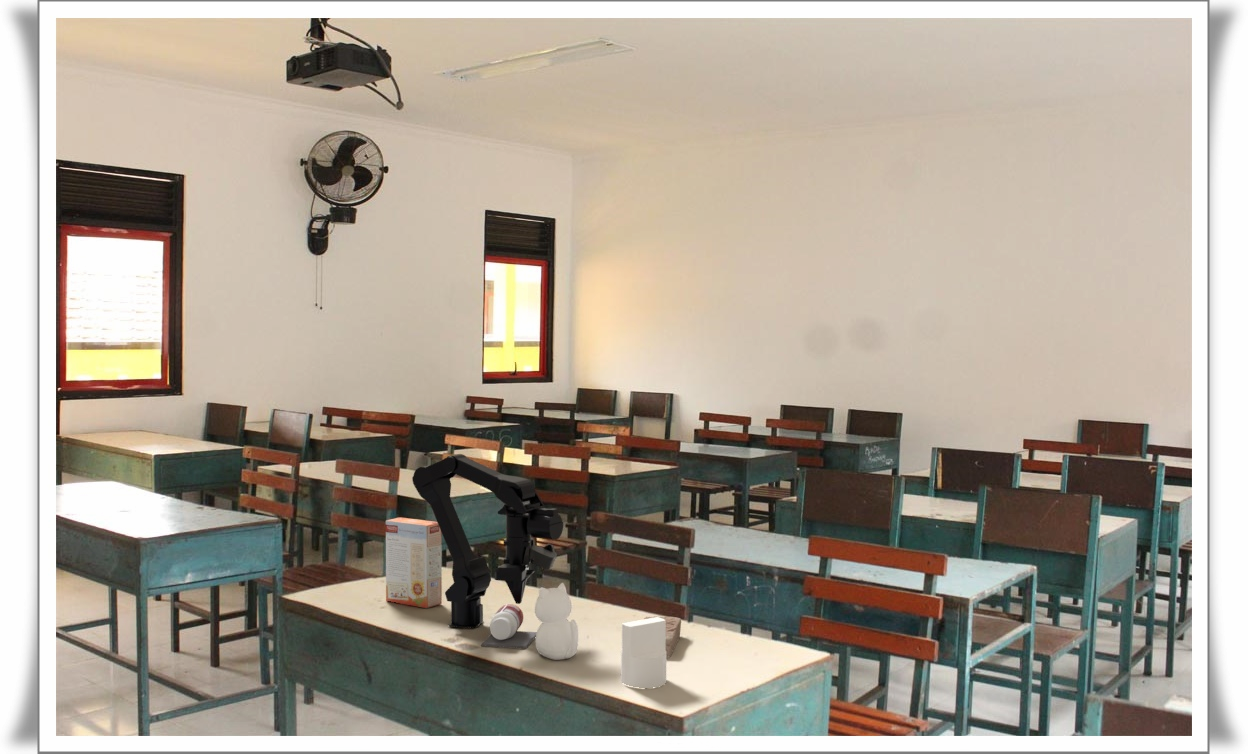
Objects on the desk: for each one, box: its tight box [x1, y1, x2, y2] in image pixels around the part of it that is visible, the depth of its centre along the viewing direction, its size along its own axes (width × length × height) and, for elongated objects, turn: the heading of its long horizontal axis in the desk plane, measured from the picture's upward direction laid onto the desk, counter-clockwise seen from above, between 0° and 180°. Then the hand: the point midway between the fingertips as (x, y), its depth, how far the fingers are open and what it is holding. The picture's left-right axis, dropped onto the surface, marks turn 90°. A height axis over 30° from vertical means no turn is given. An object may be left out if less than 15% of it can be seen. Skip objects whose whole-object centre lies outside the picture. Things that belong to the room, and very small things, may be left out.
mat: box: [480, 630, 537, 650], centre depth 251 cm, size 10×11×1 cm
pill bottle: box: [489, 603, 524, 640], centre depth 252 cm, size 6×6×11 cm
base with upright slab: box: [620, 616, 667, 689], centre depth 223 cm, size 9×9×12 cm
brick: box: [643, 616, 682, 658], centre depth 248 cm, size 17×8×5 cm, turn 170°
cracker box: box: [385, 517, 443, 609], centre depth 283 cm, size 14×6×21 cm, turn 58°
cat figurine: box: [534, 582, 579, 661], centre depth 239 cm, size 9×12×15 cm
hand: (518, 603), depth 256 cm, fingers closed
